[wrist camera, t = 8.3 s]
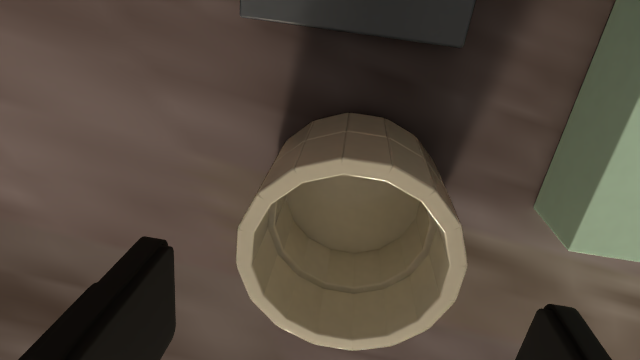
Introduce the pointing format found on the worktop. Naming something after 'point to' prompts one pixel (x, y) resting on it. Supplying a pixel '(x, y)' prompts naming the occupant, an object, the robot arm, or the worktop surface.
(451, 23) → the block
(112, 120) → the worktop surface
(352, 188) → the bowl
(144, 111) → the worktop surface
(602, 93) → the scale
